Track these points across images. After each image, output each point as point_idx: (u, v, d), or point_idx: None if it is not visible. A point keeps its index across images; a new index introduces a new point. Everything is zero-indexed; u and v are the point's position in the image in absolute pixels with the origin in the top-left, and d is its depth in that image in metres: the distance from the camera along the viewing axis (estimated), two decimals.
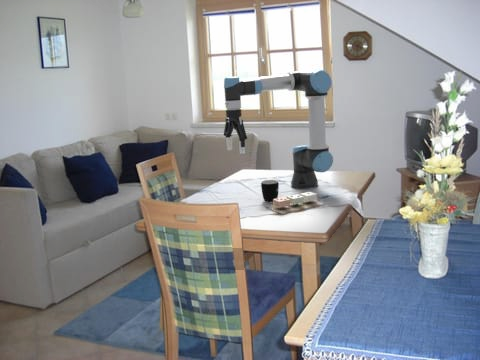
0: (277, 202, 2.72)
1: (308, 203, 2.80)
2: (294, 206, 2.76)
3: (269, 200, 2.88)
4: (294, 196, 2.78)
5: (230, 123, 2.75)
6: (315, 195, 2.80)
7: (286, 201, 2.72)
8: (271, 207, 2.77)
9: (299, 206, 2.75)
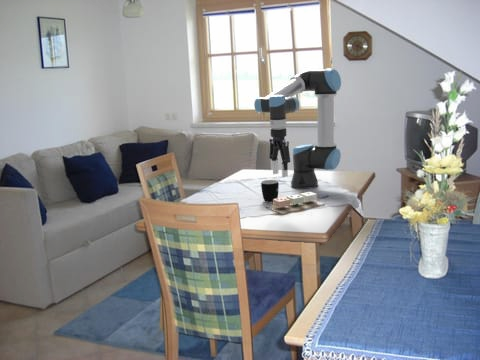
0: (277, 202, 2.72)
1: (308, 203, 2.80)
2: (294, 206, 2.76)
3: (269, 200, 2.88)
4: (294, 196, 2.78)
5: (275, 142, 2.67)
6: (315, 195, 2.80)
7: (286, 201, 2.72)
8: (271, 207, 2.77)
9: (299, 206, 2.75)
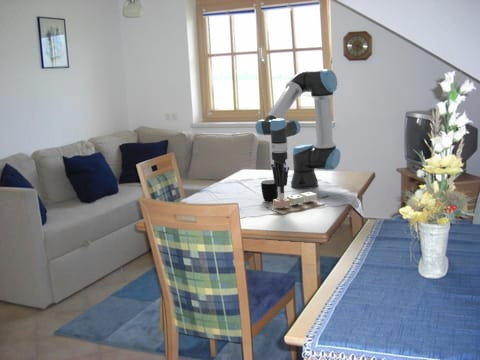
0: (277, 202, 2.72)
1: (308, 203, 2.80)
2: (294, 206, 2.76)
3: (269, 200, 2.88)
4: (294, 196, 2.78)
5: (276, 165, 2.70)
6: (315, 195, 2.80)
7: (286, 201, 2.72)
8: (271, 207, 2.77)
9: (299, 206, 2.75)
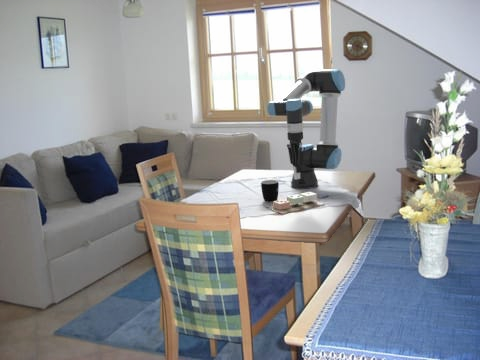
0: (277, 204, 2.72)
1: (308, 203, 2.80)
2: (294, 206, 2.76)
3: (269, 200, 2.88)
4: (294, 196, 2.78)
5: (292, 145, 2.72)
6: (315, 195, 2.80)
7: (286, 203, 2.72)
8: (271, 207, 2.77)
9: (299, 206, 2.75)
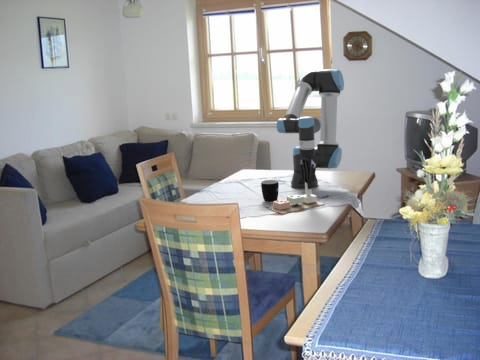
0: (277, 204, 2.72)
1: (308, 203, 2.80)
2: (294, 206, 2.76)
3: (269, 200, 2.88)
4: (294, 196, 2.78)
5: (303, 161, 2.77)
6: (315, 197, 2.80)
7: (286, 203, 2.72)
8: (271, 207, 2.77)
9: (299, 206, 2.75)
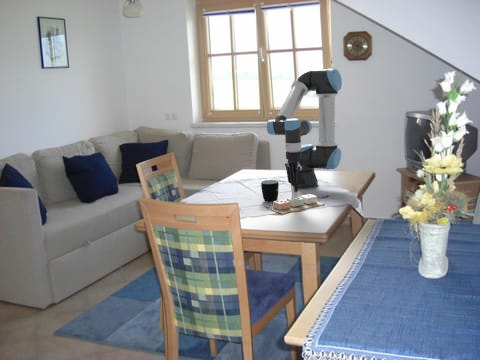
0: (277, 204, 2.72)
1: None
2: None
3: (269, 200, 2.88)
4: (294, 198, 2.78)
5: (290, 164, 2.74)
6: (315, 197, 2.80)
7: (286, 203, 2.72)
8: (271, 207, 2.77)
9: (299, 206, 2.75)
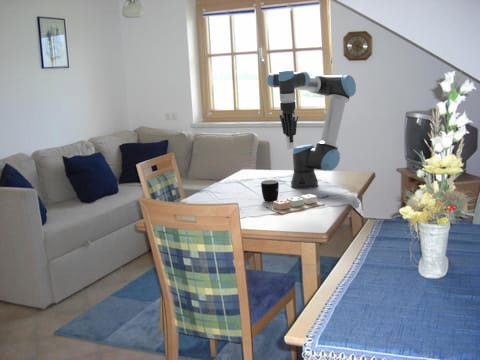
0: (277, 204, 2.72)
1: None
2: None
3: (269, 200, 2.88)
4: (294, 198, 2.78)
5: (285, 115, 2.78)
6: (315, 197, 2.80)
7: (286, 203, 2.72)
8: (271, 207, 2.77)
9: (299, 206, 2.75)
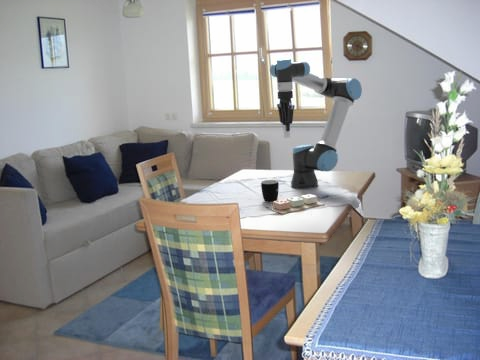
0: (277, 204, 2.72)
1: None
2: None
3: (269, 200, 2.88)
4: (294, 198, 2.78)
5: (282, 104, 2.82)
6: (315, 197, 2.80)
7: (286, 203, 2.72)
8: (271, 207, 2.77)
9: (299, 206, 2.75)
